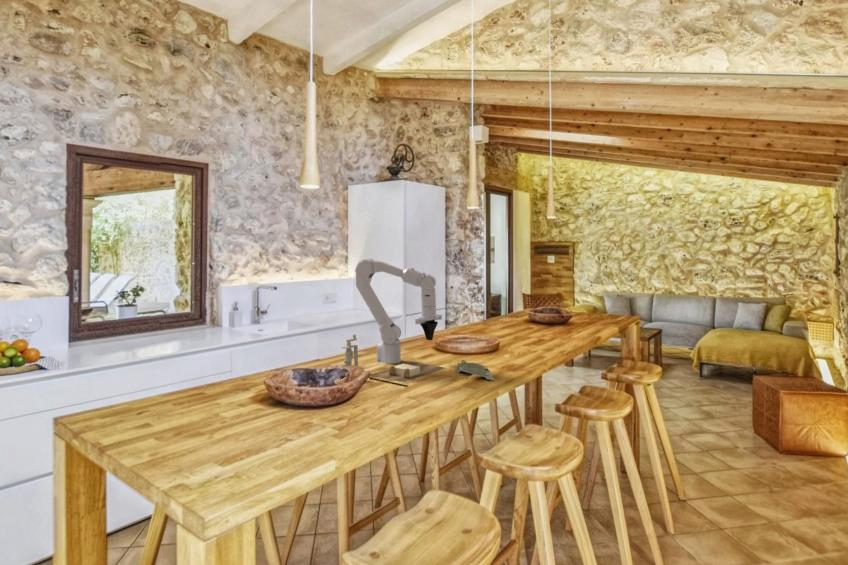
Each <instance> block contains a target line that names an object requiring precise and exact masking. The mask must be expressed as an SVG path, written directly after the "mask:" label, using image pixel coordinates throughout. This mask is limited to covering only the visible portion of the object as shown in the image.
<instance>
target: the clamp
mask: <svg viewBox="0 0 848 565" xmlns="http://www.w3.org/2000/svg"><path fill="white" fill-rule="evenodd" d="M356 336H357V335H356V334H352V338H351V337H350V338H348V339H347V338H346V340H345V342H346V344H345V345H342V346H341V349H345V351H344V354H345V355H344V356H345V357H344V361H343V366H342V367H344V366H351V367H352V362H353V365H354V366H358V367H359V354H358V351H359V350H358V344H352V343H351V342H354V341H357V340H358V338H357V337H356Z"/></svg>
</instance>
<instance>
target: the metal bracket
mask: <svg viewBox="0 0 848 565" xmlns="http://www.w3.org/2000/svg"><path fill="white" fill-rule="evenodd" d="M456 365H457V366H456V372H457V373H458V374H459V373H460V372H465V373H468V374H470V375H471V374H472V375H475V376H479V377H483V378H485V379H486V380H489V381H493V382H495V381H496V379H495V378H494V377H493V375H492V373H491V370H489V368H484V365H483V364H480V363H475V362H467V361H466V360H463V359H462V360H461V361H460V362H457V364H456Z"/></svg>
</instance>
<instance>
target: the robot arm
mask: <svg viewBox="0 0 848 565" xmlns="http://www.w3.org/2000/svg"><path fill="white" fill-rule="evenodd" d="M354 271H355V286H356V288H357V290H358V291H359V293H360V296H361V297H362V299H363V300H364V302H365V304H366V305H367V307H368V309H369V311H370V312H371V314H372V316H373V318H374V319H375V321H376V323H377V325H378V330H379V332H380V338H381V340H382V341H381V342H378V344H377V346H376V362H377V364H379V363H384V364H388V365H389V364H398V363H401V362H402V357H401V356H402V352H401V346H402V345H401V341H400V337H401V336H402V330H401V328H400V327H399V326H398V325H396V323H395V322H394V320H393V319H391V318H390V316H389V315H388V313H387V312H386V311H387V310H385V308H384V306H383V304H382V303H381V301H380V300H379V298H378V296H377V294H376V292H375V290H374V289H373V287H372V286H371V281H372V278H373V276H374V275H375V274H377V273H380V272H383V273H385V274H390V275H392V276H396V277H400V278H401V280H402V282H404V283H405V284H408V285H412V286H414V287H418V288H419V287H420V288H421V289H420V290H421V296H420V301H421V302H420V303H421V305H420V308H421V316H420V317H418V318H415V319H414V321H415V323H414V324H415V325H420V326H421V328H422V330H423V332H424V336H425V339H426V341H433V339H434V333H435V331H436V328H437V326H438V324H439V322H438V320H439V321H441V320H442V319H443V314H437V302H436V299H437V296H436V284H437V281H436V278H435V277H434V276H433V275H432V274H427V273H426V272H424V271H423V272H420V271H418V270H415V268H414V267H411V268H409V267H408V268H406V269H403V268H400V267H398V266H395V265H392V264H389V263H387V262H385V261H381V260H377V259H373V258H368V259H361V260H359V261H358V262H357V264H356V267H355V269H354Z"/></svg>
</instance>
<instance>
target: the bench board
mask: <svg viewBox="0 0 848 565" xmlns="http://www.w3.org/2000/svg"><path fill="white" fill-rule="evenodd" d="M405 364H408V365H413V366H419V367H420V374H417V375H414V376H411V377H410V370H409V369H404V376H401V375H396V374H395V366H396V365H390V366H388V368H387V369H384V370H380V371H377V372H374V373H372V374H370V376H371V377H370V376H369V378H368V379H369V380H372V381H376V382H382V383H386V384H390V385H395V386H400V387H404V388H406V387H409V385H407V384H402V383H408V382H410V381H414V380H416V379H419V378H422V377H425V376H428V375H431V374H433V373H436V372H439V371H441V370H444V369H446V367H443V366H439V365H438V366H437V365H433V364H427V363H426V364H425V363H420V362H415V361H410V362H407V363H405ZM374 377H377V378H374ZM380 378H382V379H380ZM384 379H386V380H384ZM388 380H390V381H388ZM393 381H395V382H393ZM398 382H401V383H398Z"/></svg>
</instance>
